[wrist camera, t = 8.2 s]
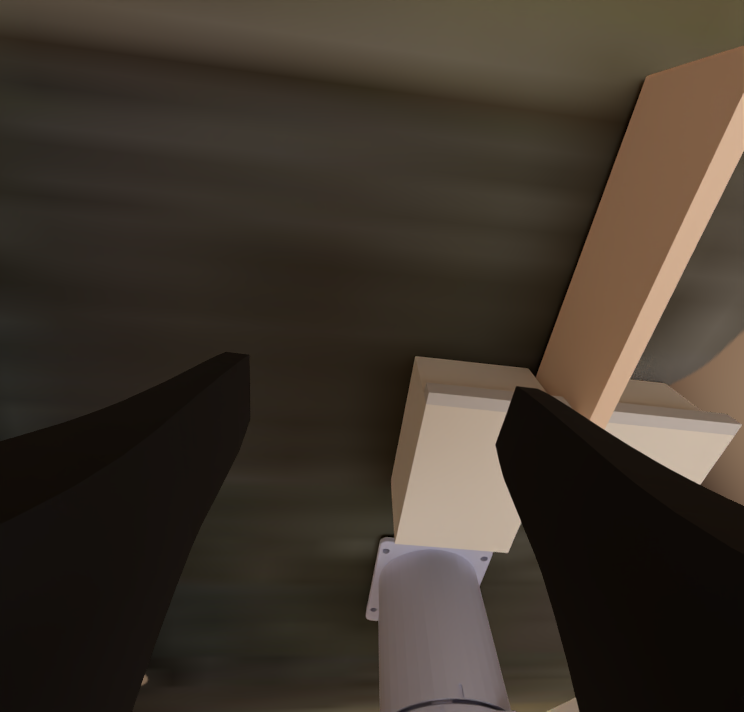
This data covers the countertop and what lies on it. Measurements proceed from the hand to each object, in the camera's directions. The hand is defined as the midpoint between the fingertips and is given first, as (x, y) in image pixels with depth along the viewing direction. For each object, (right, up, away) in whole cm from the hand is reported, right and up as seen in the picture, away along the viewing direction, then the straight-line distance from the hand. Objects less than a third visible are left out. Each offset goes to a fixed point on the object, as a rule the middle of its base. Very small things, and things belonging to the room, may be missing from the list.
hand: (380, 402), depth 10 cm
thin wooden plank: (+10, +6, +8) cm, 14 cm away
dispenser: (+9, -3, +12) cm, 15 cm away
